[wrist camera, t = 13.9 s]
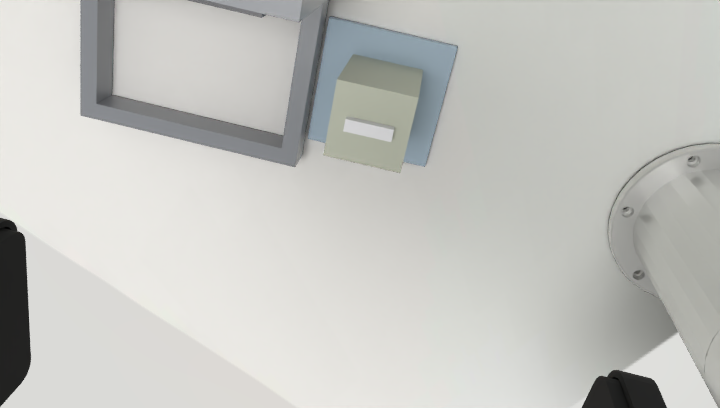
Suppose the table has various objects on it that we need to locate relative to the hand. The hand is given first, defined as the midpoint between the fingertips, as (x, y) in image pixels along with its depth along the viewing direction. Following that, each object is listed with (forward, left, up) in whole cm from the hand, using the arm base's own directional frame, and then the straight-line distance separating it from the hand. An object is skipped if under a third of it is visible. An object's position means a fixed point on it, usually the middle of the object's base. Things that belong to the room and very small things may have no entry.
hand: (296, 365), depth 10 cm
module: (+1, +6, -36) cm, 36 cm away
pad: (+1, +6, -36) cm, 37 cm away
